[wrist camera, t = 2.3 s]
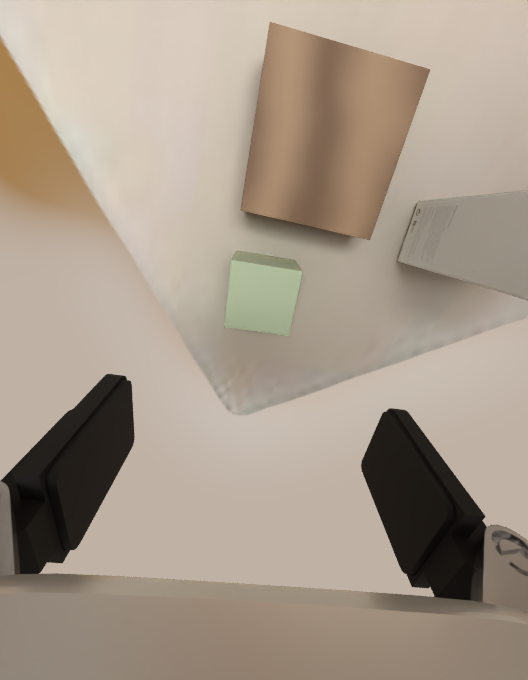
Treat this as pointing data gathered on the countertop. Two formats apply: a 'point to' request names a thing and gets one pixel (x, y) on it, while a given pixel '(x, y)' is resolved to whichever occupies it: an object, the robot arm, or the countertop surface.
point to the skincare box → (473, 240)
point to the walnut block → (327, 131)
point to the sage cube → (262, 293)
